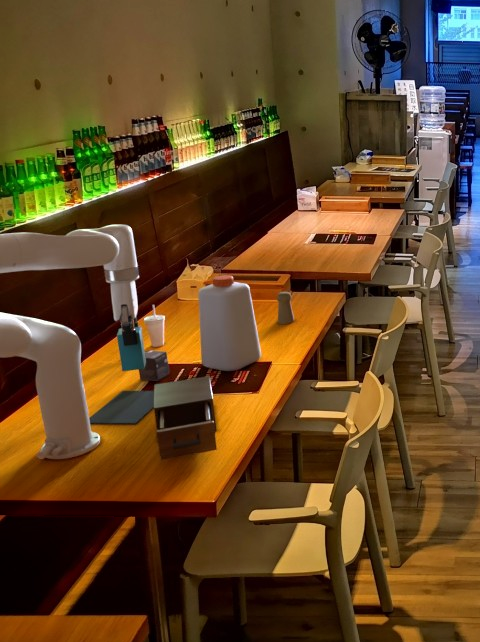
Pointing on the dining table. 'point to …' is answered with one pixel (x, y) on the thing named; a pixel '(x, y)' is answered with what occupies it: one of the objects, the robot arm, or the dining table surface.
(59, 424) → the robot arm
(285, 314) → the pepper shaker
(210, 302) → the plastic bottle
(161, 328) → the smoothie
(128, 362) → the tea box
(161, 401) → the cabinet
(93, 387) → the dining table surface
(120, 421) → the mat
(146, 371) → the box
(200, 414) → the drawer
